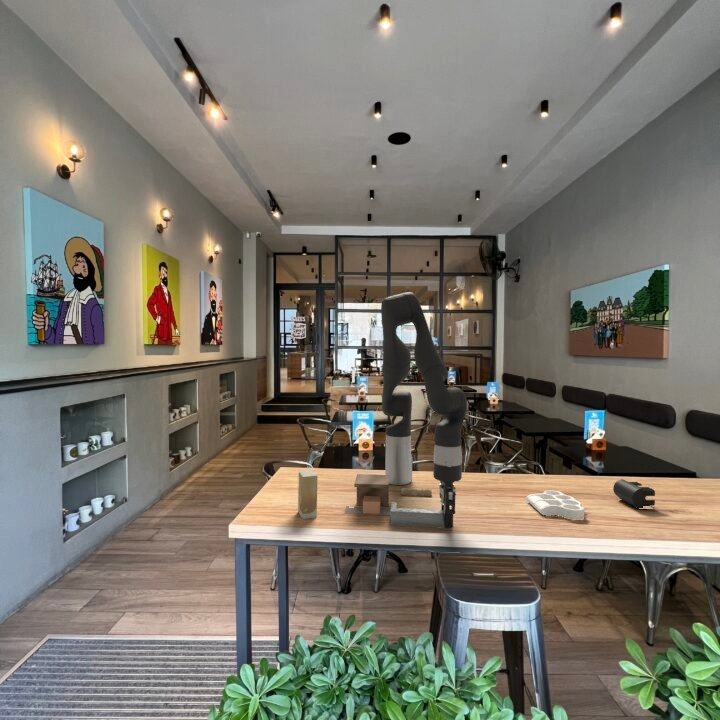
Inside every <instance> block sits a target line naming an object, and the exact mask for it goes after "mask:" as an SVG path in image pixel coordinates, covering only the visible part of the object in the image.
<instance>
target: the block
mask: <svg viewBox="0 0 720 720" xmlns="http://www.w3.org/2000/svg"><path fill="white" fill-rule="evenodd" d="M380 497H381V496H364V498H363V504H362V507H363V513H368V514H367V515H373V514H380V507H381V505H380Z"/></svg>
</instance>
